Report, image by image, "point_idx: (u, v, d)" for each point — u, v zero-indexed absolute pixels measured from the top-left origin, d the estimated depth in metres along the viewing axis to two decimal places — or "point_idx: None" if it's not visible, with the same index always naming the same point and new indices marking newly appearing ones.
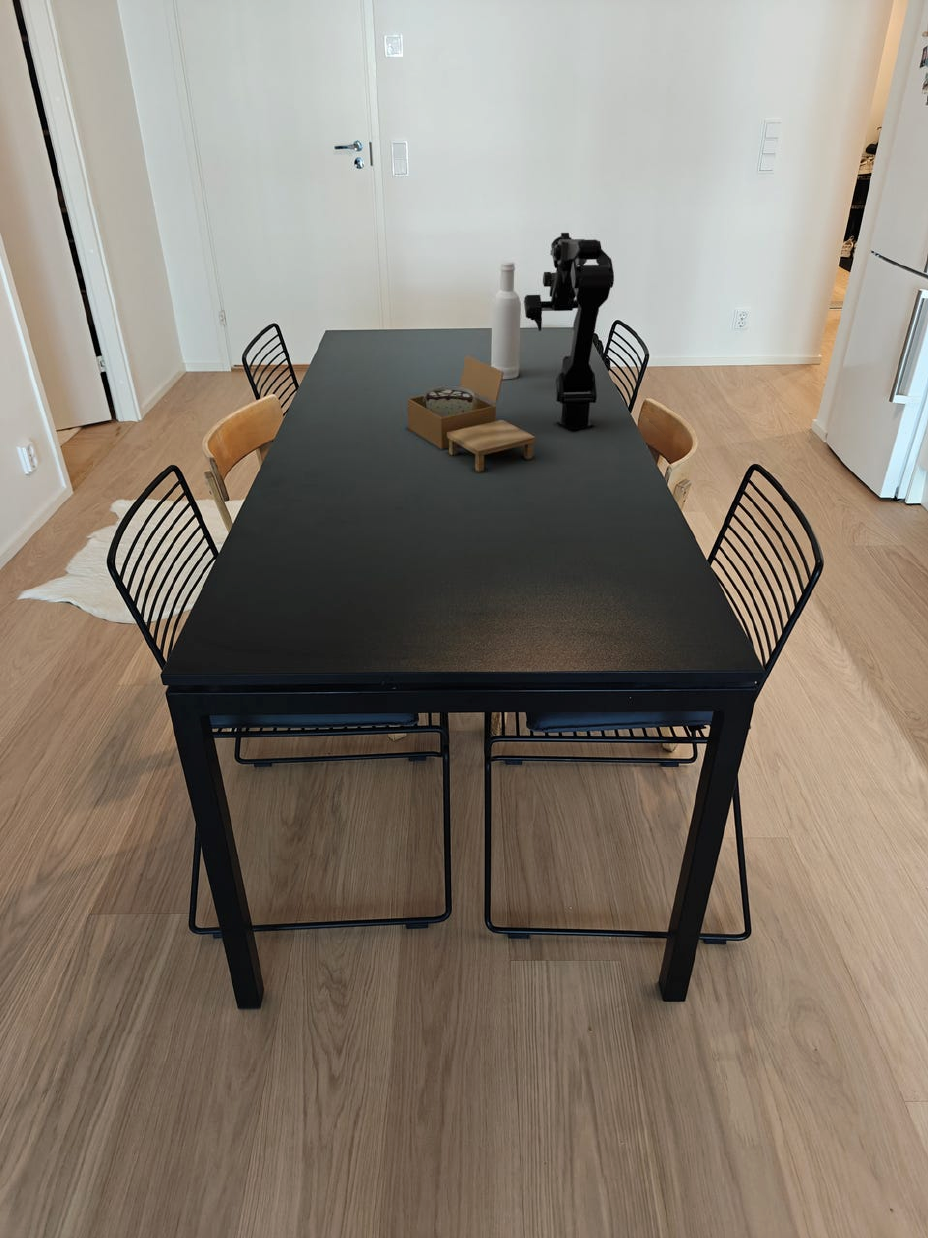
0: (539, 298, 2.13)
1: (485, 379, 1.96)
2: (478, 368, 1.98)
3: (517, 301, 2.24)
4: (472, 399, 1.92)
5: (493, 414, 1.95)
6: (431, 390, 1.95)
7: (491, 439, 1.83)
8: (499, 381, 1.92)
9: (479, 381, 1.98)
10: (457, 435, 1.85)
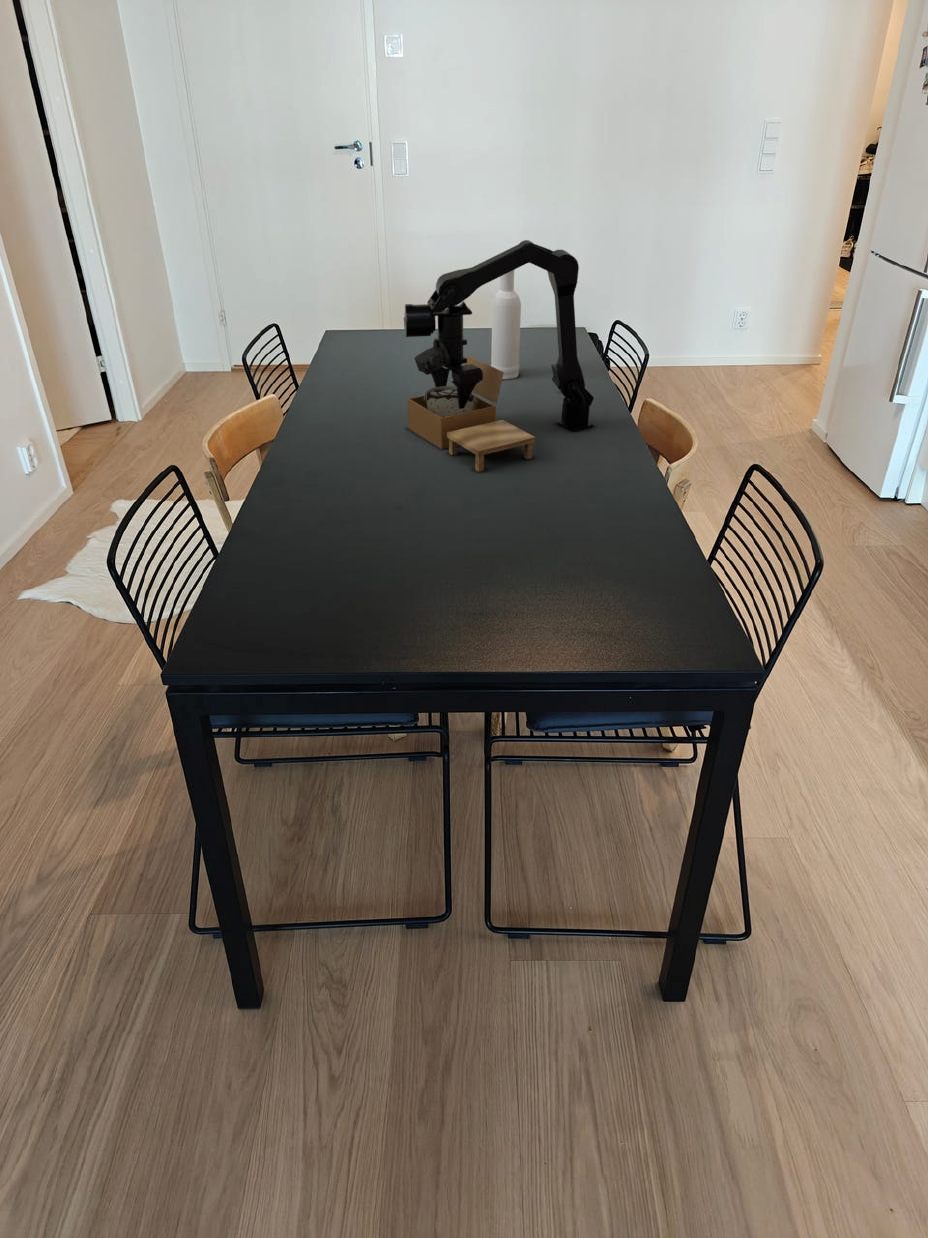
0: (460, 366, 1.86)
1: (485, 379, 1.96)
2: None
3: (517, 301, 2.24)
4: (472, 398, 1.93)
5: (493, 414, 1.95)
6: (432, 389, 1.95)
7: (491, 439, 1.83)
8: (499, 381, 1.92)
9: None
10: (457, 435, 1.85)
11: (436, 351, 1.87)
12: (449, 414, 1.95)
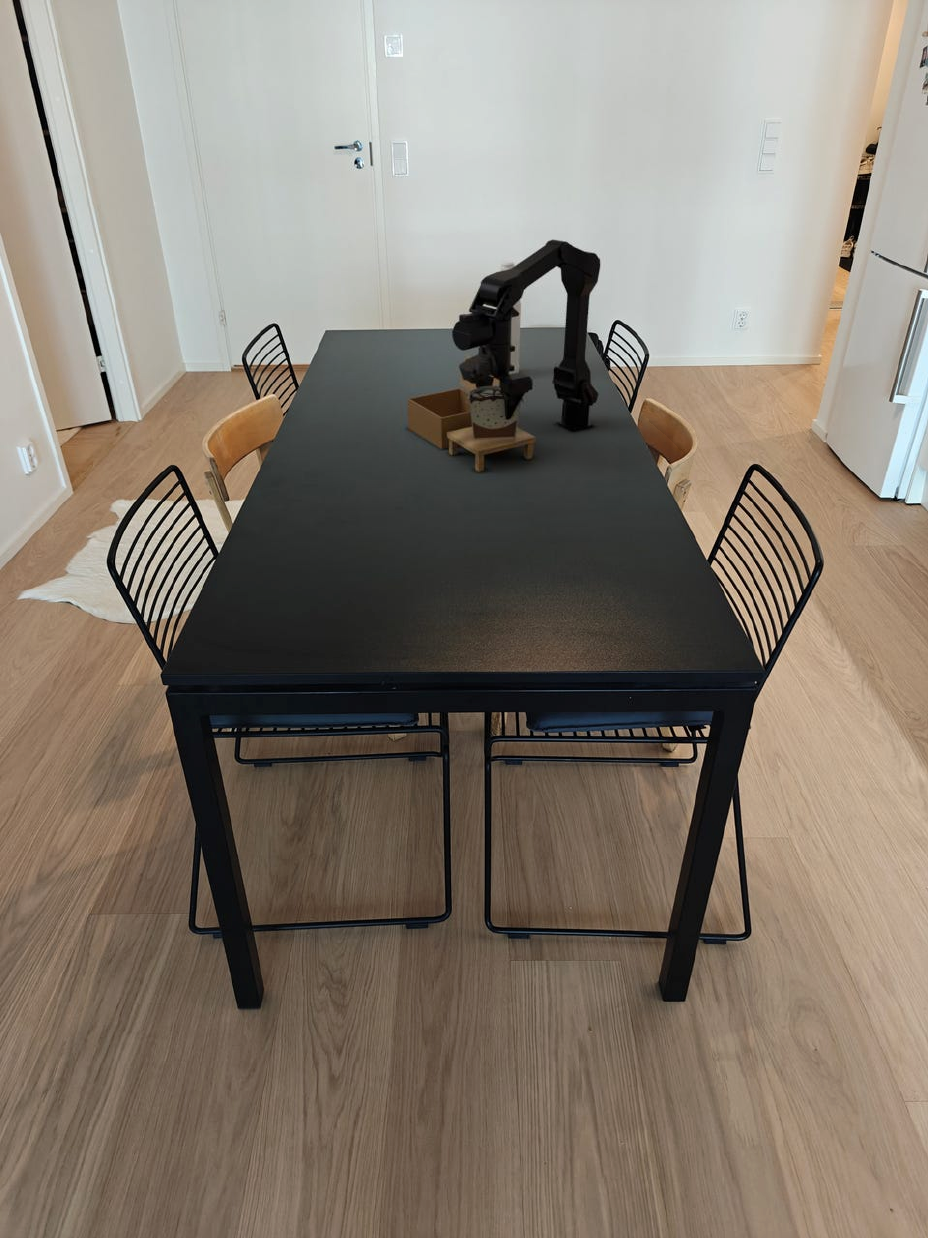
0: (509, 375, 1.74)
1: None
2: None
3: None
4: None
5: None
6: (472, 391, 1.80)
7: (491, 439, 1.83)
8: None
9: None
10: (457, 435, 1.85)
11: (482, 358, 1.74)
12: (494, 417, 1.81)
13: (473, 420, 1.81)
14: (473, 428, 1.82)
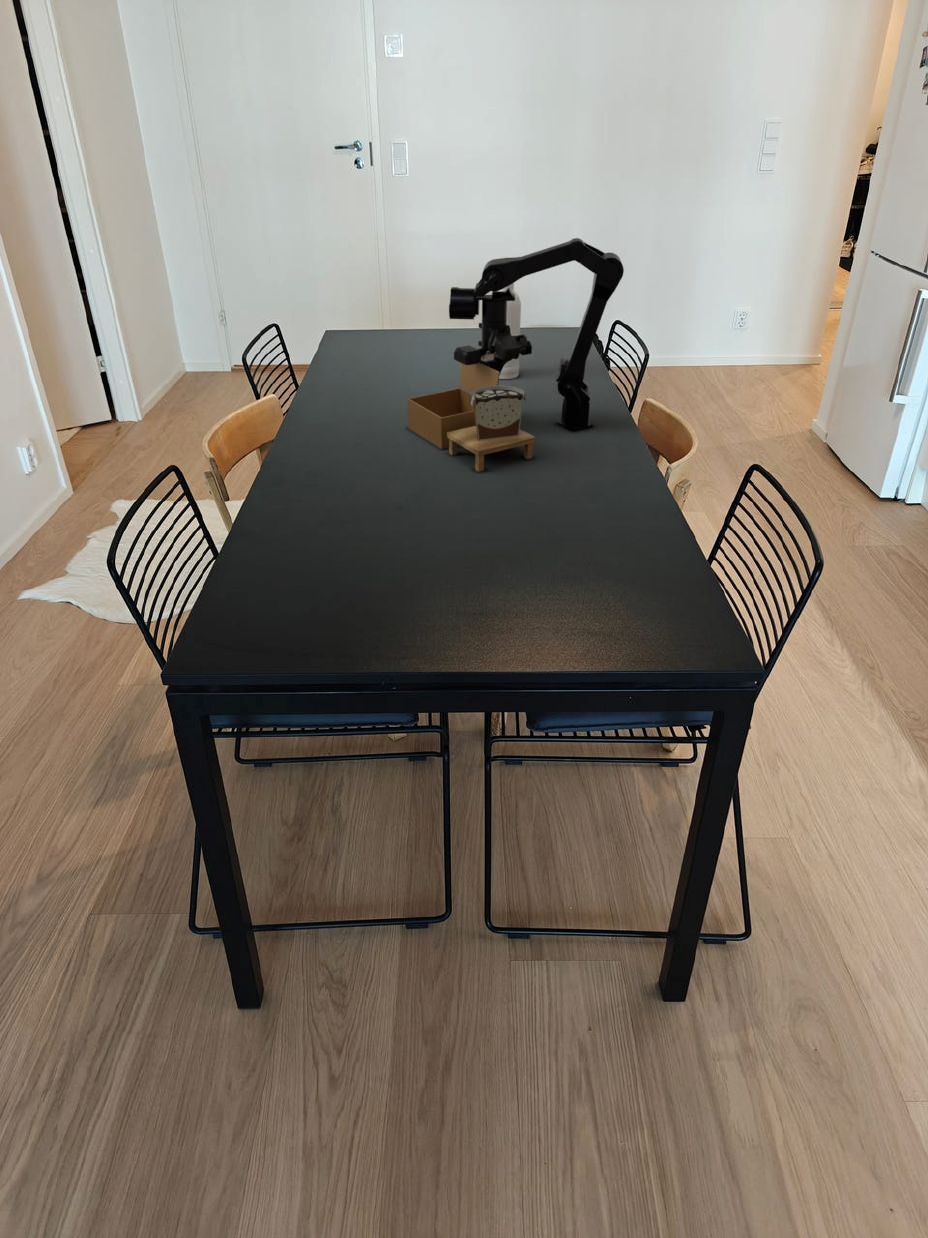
0: None
1: (483, 379, 1.96)
2: (475, 368, 1.98)
3: (517, 301, 2.24)
4: (522, 396, 1.80)
5: None
6: (475, 392, 1.80)
7: (491, 439, 1.83)
8: (496, 381, 1.91)
9: (477, 381, 1.98)
10: (457, 435, 1.85)
11: (507, 336, 1.91)
12: (498, 416, 1.81)
13: (478, 421, 1.80)
14: (478, 429, 1.81)
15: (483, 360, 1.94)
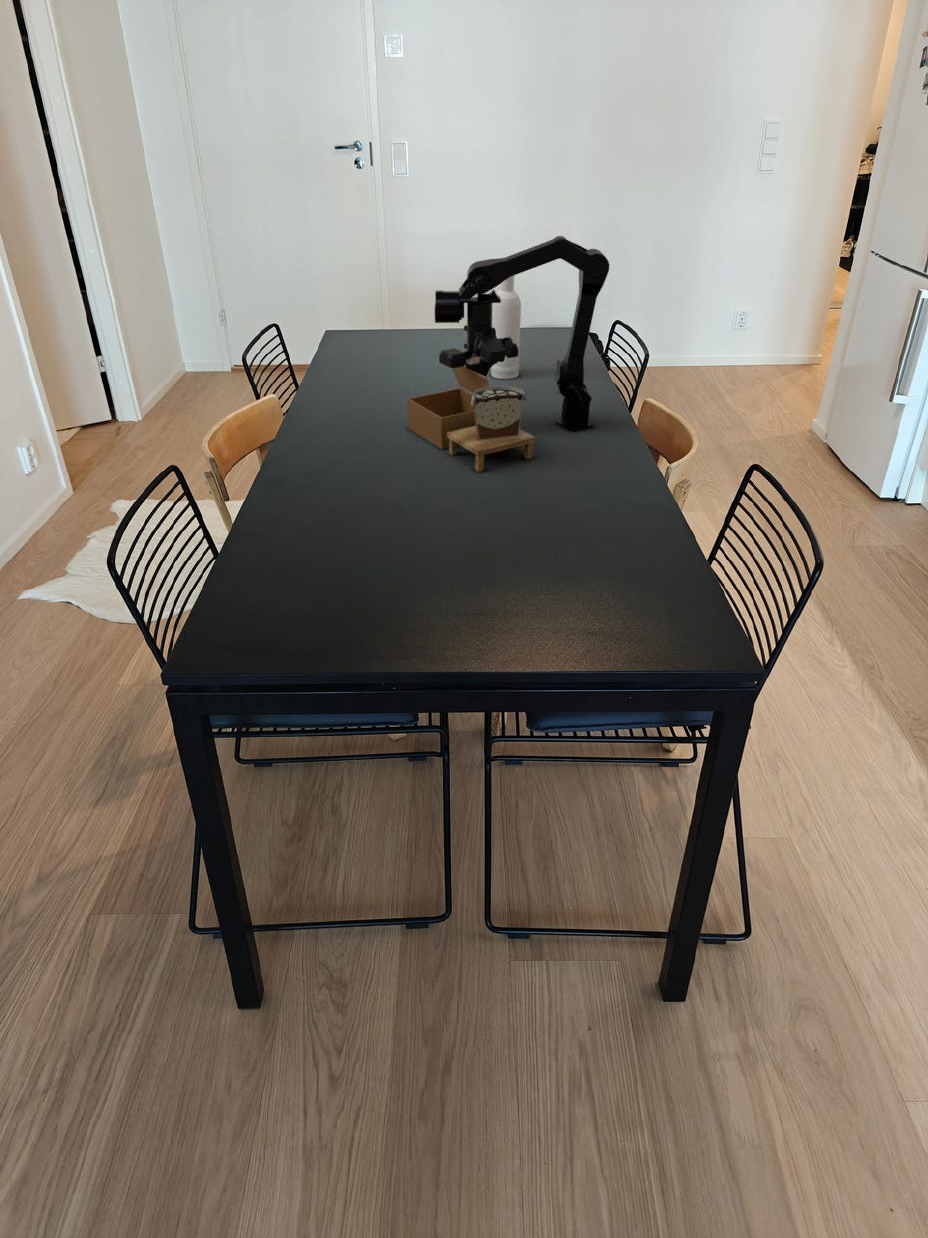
0: None
1: (475, 382, 1.95)
2: (464, 372, 1.97)
3: (517, 301, 2.24)
4: (522, 396, 1.80)
5: None
6: (475, 392, 1.80)
7: (491, 439, 1.83)
8: (487, 385, 1.91)
9: (472, 384, 1.97)
10: (457, 435, 1.85)
11: (492, 338, 1.89)
12: (498, 416, 1.81)
13: (478, 421, 1.80)
14: (478, 429, 1.81)
15: (469, 363, 1.93)
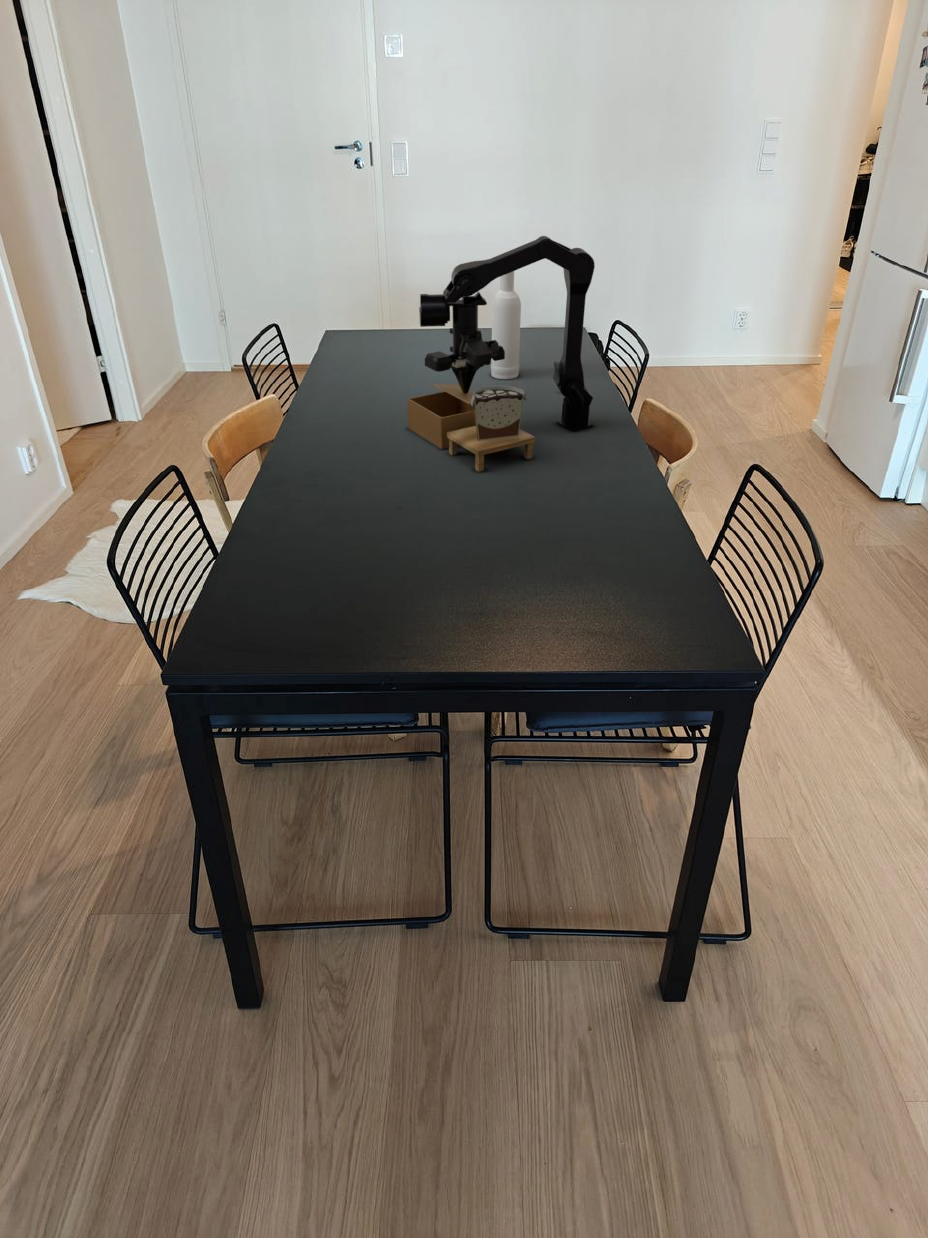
0: None
1: None
2: None
3: (517, 301, 2.24)
4: (522, 396, 1.80)
5: None
6: (475, 392, 1.80)
7: (491, 439, 1.83)
8: None
9: None
10: (457, 435, 1.85)
11: (478, 341, 1.88)
12: (498, 416, 1.81)
13: (478, 421, 1.80)
14: (478, 429, 1.81)
15: (454, 366, 1.91)
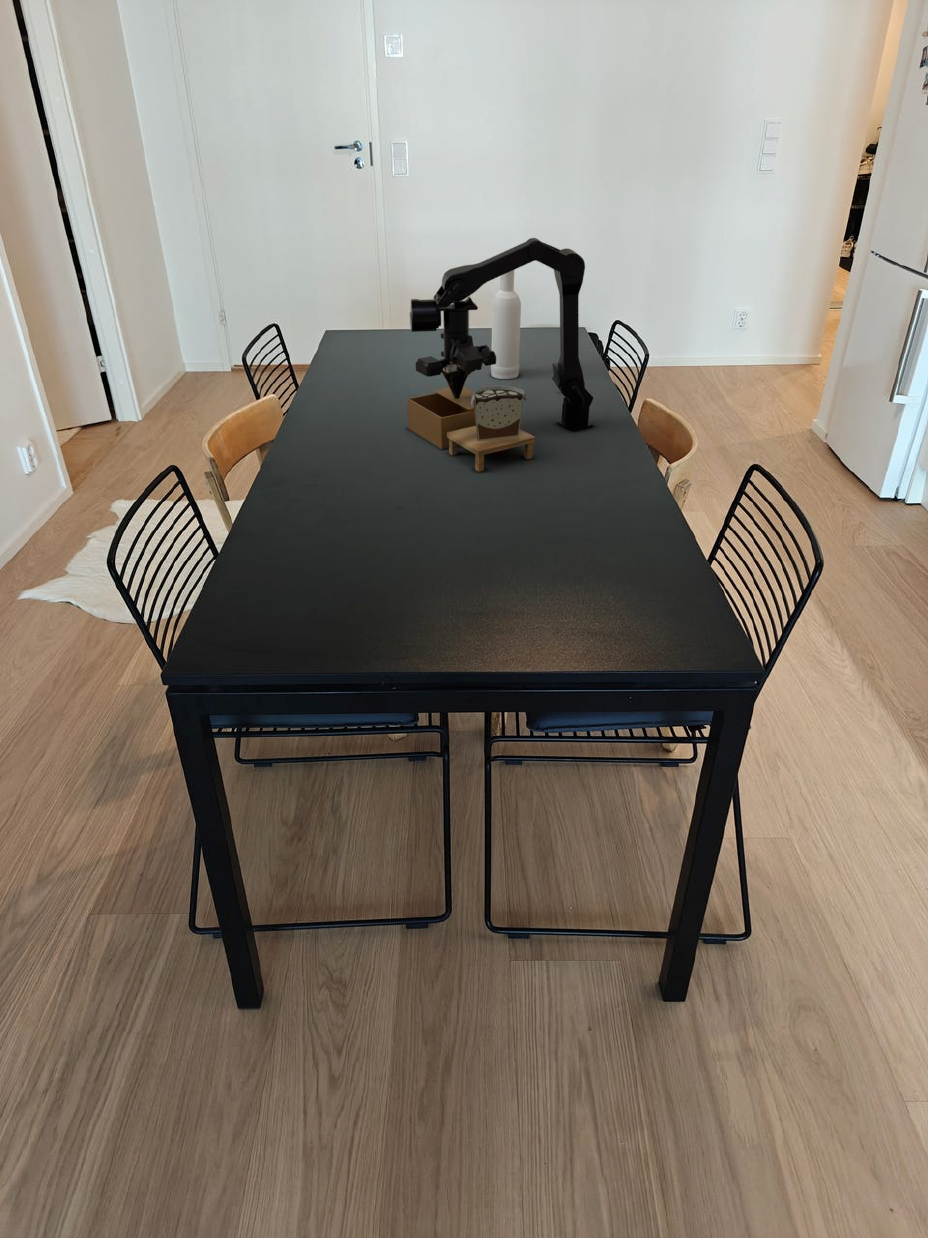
0: None
1: None
2: None
3: (517, 301, 2.24)
4: (522, 396, 1.80)
5: None
6: (475, 392, 1.80)
7: (491, 439, 1.83)
8: None
9: None
10: (457, 435, 1.85)
11: (469, 346, 1.87)
12: (498, 416, 1.81)
13: (478, 421, 1.80)
14: (478, 429, 1.81)
15: (445, 371, 1.90)
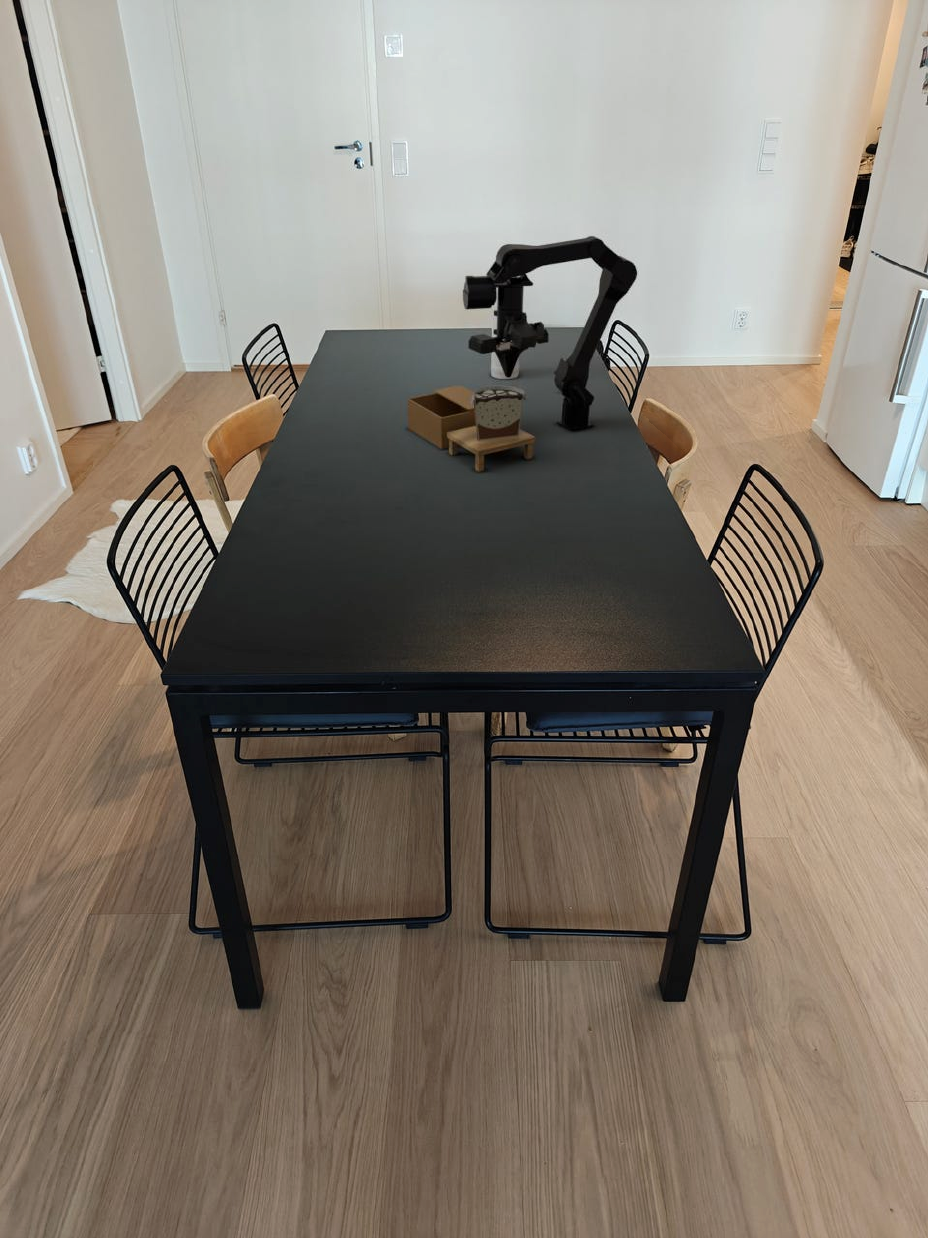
0: None
1: None
2: None
3: None
4: (522, 396, 1.80)
5: None
6: (475, 392, 1.80)
7: (491, 439, 1.83)
8: None
9: None
10: (457, 435, 1.85)
11: (523, 323, 1.85)
12: (498, 416, 1.81)
13: (478, 421, 1.80)
14: (478, 429, 1.81)
15: (498, 349, 1.88)
